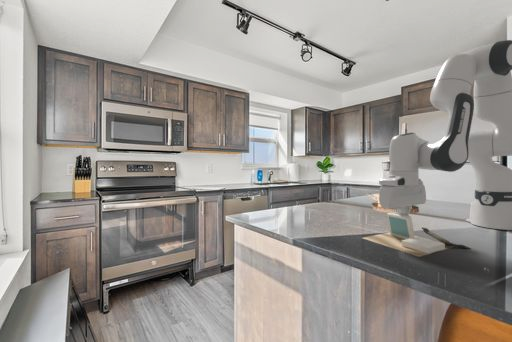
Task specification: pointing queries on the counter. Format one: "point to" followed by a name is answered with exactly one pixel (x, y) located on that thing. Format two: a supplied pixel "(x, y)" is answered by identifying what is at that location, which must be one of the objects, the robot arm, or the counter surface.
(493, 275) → the counter surface
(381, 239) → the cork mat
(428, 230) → the tomahawk
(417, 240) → the tile near
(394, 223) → the tile far
